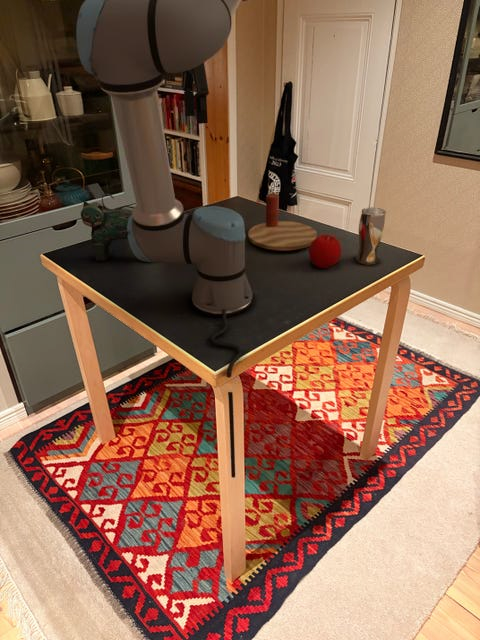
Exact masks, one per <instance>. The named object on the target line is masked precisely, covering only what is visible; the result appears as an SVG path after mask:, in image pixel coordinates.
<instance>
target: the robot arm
mask: <svg viewBox="0 0 480 640" xmlns="http://www.w3.org/2000/svg"><path fill="white" fill-rule="evenodd" d="M242 1H243V2H248V0H84V1H83V3H82V4H81V6H80V8H79V10H78V15H77V21H76V32H75V33H76V35H75V36H76V47H77V53H78V56H79V61H80V63H81V65H82V66H83V67H84V70H85V71H86V72H87V73H88V74H91V75H93V76H97V78H98V82H99V85H100V89H101V90H102V91H103V92H105V93H106V94H108V95H109V96H110V97H111V100H112V105H113V108H114V113H115V117H116V118H115V119H116V121H117V126H118V131H119V135H120V139H121V143H122V147H123V152H124V157H125V160H126V164H127V169H128V173H129V177H130V181H131V182H130V183H131V186H132V190H133V195H134V199H135V203H136V204H135V206H134V207H135V208H134V209H132V210H133V212H132V215H131V216H130V218H129V220H128V225H127V231H128V239H127V241H128V245H129V247H130V251H131V252H132V254H133V256H134V257H135V258H136V259H138V260H140V261H142V262H144V261H146V262H145V263H152V264H177V265H178V264H181V265H195V266H196V269H197V270H196V271H197V273H196V274H197V276H196V279H195V281H194V282H195V283H194V286H193V290H192V294H191V303H192V307H193V308H194V310H196V311H197V312H199V313H201V314H203V315H205V316H209V317H210V316H211V317H218V318H219V317H221V318H222V323H223V327H222V329H220V330H219V331H217V332H215V333H213V334H211V335H210V342H211V343H212V344H213V345H215V346H219V347H224V348H230V349H234V350H236V351H237V354H236V355H235V356H234V357H233V358H232V359H231V360H230V362H229V363H228V366H227V369H226V377H227V378H228V379H229V378H231V377H232V371H233V367H234V366H235V364H236V363H237V362H238V360H239V359H241V358H242V356H243V350H242V348H241V347H240V346H239V345H237V344H235V343H230V342H223V341H220V340H219V341H218V340H216V338H217V337H219V336H221V335H223V334H224V333H226V331H227V330H228V327H229V325H228V320H227V317H230V316H231V317H233V316H236V315H240V314H241V313H243V312H245V311H247V310H248V309H250V308H251V306H252V304H253V300H254V299H253V295H254V294H253V290H252V288H251V284H250V282H249V280H248V277H247V273H246V237H247V235H246V232H245V231H246V230H245V222H244V218H243V217H242V215H241V214H239V213H238V212H236V211H235V210H233V209H230V208H228V207H222V206H218V205H208V206H201V207H197V208H196V209H194V211H193V214H189V213H185V209H184V205H183V204H182V202H181V201H180V200H178V199H177V198H176V197H175V191H174V185H173V178H172V172H171V165H170V160H169V154H168V148H167V143H166V135H165V129H164V123H163V119H162V112H161V107H160V101H159V94H158V90H159V88H160V87H161V86H162V84H163V82H164V74H179V73H181V85H180V86H181V88H182V91H183V98H184V113H185V114H184V115H185V117H195V116H196V123H197V125H200V124H203V125H204V124H208V122H209V121H208V104H207V103H208V102H207V99H208V96H209V95H210V91H209V85H208V79H207V72H206V66H205V62H207V61H208V60H210V59H211V58H212V57H214V56H215V55H216V54H217V53H218V52H219V51H221V49H223V47H224V46H225V44H226V42H227V40H228V39H229V37H230V34H231V31H232V22H233V20H232V18H233V17H234V15H235V13H236V11H237V9H238V7H239V5H240V3H241V2H242ZM195 108H196V110H195ZM227 395H228V396H227V398H228V417H229V418H228V419H229V421H228V422H229V445H230V447H229V448H230V475H231V478H236V453H235V450H236V449H235V423H234V422H235V420H234V419H235V418H234V417H235V416H234V395H233V391H227Z"/></svg>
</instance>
